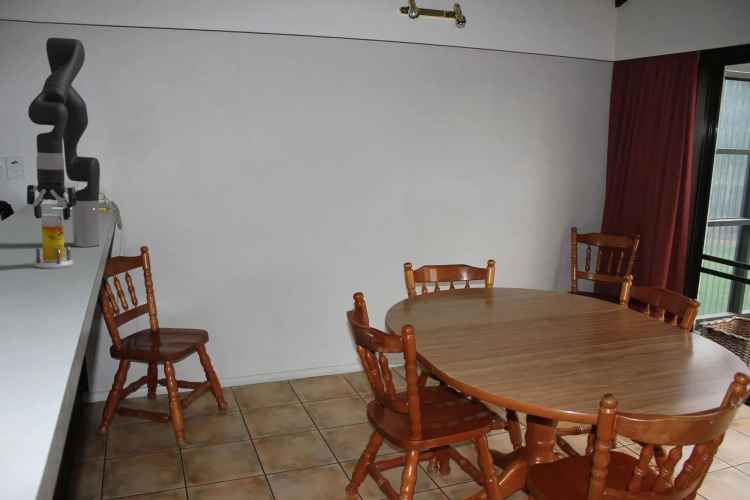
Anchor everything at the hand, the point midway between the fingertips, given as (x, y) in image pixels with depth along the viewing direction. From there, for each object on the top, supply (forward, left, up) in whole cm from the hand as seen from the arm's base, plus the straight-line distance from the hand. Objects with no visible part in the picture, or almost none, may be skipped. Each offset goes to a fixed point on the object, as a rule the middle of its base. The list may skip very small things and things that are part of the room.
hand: (52, 218), depth 189 cm
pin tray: (0, 0, -15) cm, 15 cm away
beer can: (0, 0, -14) cm, 14 cm away
